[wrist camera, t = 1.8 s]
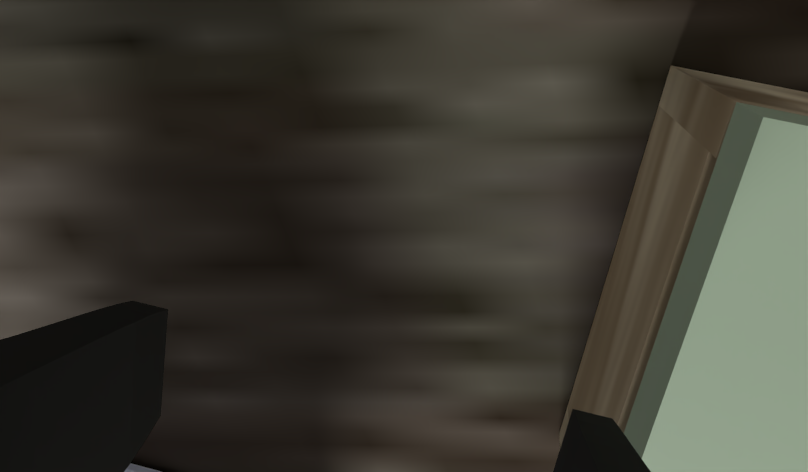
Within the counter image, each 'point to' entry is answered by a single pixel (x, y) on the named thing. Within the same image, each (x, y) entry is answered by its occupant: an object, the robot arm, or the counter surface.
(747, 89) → the cubby
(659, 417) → the lid
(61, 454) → the robot arm
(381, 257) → the counter surface
